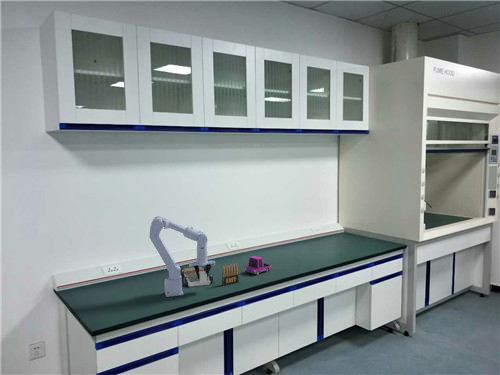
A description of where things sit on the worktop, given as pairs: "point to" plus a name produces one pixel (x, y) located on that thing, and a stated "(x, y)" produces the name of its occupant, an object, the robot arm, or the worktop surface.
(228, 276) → the ammunition clip
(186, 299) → the worktop surface
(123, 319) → the worktop surface
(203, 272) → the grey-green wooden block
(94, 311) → the worktop surface
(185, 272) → the chassis
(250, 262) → the toy truck
